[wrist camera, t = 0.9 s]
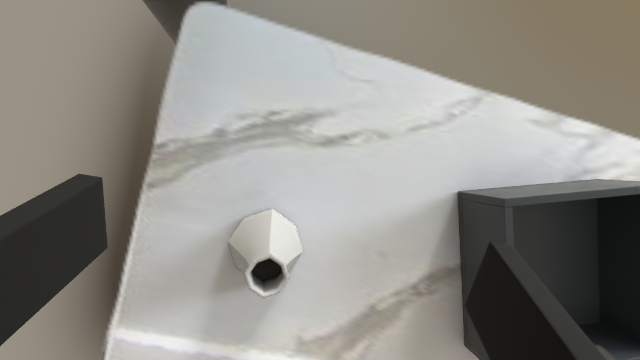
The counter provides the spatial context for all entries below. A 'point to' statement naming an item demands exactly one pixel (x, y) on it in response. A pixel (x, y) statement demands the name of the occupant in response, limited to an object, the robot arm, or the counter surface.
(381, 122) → the counter surface
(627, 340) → the storage bin
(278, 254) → the flask
